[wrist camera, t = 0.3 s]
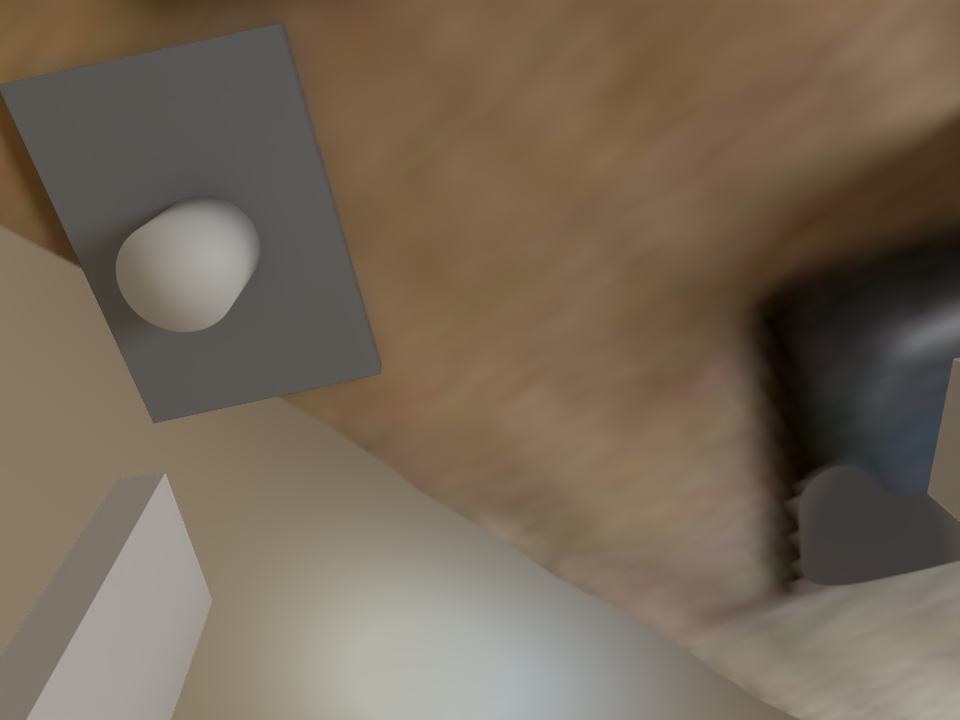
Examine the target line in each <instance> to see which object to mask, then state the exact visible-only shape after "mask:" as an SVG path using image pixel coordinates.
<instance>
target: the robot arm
mask: <svg viewBox="0 0 960 720" xmlns="http://www.w3.org/2000/svg"><path fill="white" fill-rule="evenodd" d="M927 493H928V494H929V495H930V496H931V497H932V498H933V499H934V500H935V501H937V502H938V503H939V504H940V505H941V506H942V507H943V508H944V509H946V510H947V511H948V512H949V513H950V514H951V515H952V516H954V517H955V518H956V519H957V520H958V521H959V522H960V358H955V359H953V365H952V370H951V375H950V380H949V385H948V390H947V395H946V400H945V405H944V410H943V416H942V421H941V426H940V431H939V436H938V441H937V446H936V451H935V456H934V462H933V467H932V472H931V477H930V482H929V487H928V492H927ZM211 603H212V599H211V597H210V594H209V591H208V588H207V585H206V583H205V580H204V577H203V575H202V572H201V569H200V567H199V564H198V561H197V558H196V556H195V553H194V550H193V548H192V545H191V542H190V539H189V536H188V534H187V531H186V529H185V526H184V523H183V520H182V517H181V515H180V512H179V509H178V507H177V504H176V501H175V498H174V496H173V493H172V490H171V487H170V485H169V482H168V479H167V476H166V474H165V473H160V474H153V475H146V476H139V477H132V478H125V479H118V480H117V481H116V482H115V484H114V485H113V487H112V488H111V490H110V491H109V493H108V494H107V496H106V497H105V499H104V500H103V502H102V503H101V505H100V507H99V508H98V510H97V511H96V512H95V514H94V516H93V517H92V519H91V520H90V522H89V523H88V525H87V526H86V528H85V529H84V531H83V532H82V534H81V535H80V537H79V538H78V540H77V541H76V543H75V544H74V546H73V547H72V549H71V551H70V552H69V553H68V555H67V556H66V558H65V559H64V561H63V562H62V564H61V566H60V567H59V569H58V570H57V571H56V573H55V575H54V576H53V578H52V579H51V581H50V582H49V584H48V585H47V587H46V588H45V590H44V591H43V593H42V594H41V596H40V597H39V599H38V600H37V602H36V603H35V605H34V606H33V608H32V609H31V611H30V612H29V614H28V615H27V617H26V619H25V620H24V622H23V623H22V625H21V626H20V627H19V629H18V631H17V632H16V634H15V635H14V637H13V638H12V640H11V641H10V643H9V644H8V646H7V647H6V649H5V650H4V652H3V653H2V655H1V656H0V720H171V717H172V715H173V712H174V709H175V706H176V703H177V700H178V697H179V695H180V692H181V689H182V686H183V683H184V680H185V677H186V675H187V672H188V669H189V666H190V663H191V661H192V658H193V655H194V652H195V649H196V646H197V643H198V641H199V638H200V635H201V632H202V629H203V626H204V623H205V621H206V617H207V615H208V612H209V609H210V606H211Z"/></svg>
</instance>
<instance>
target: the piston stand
mask: <svg viewBox="0 0 960 720" xmlns="http://www.w3.org/2000/svg"><path fill="white" fill-rule="evenodd" d="M0 92H1V94H2V96H3V98H4V100H5V102H6V105H7V107H8V109H9V111H10V113H11V115H12V118H13V120H14V122H15V124H16V126H17V128H18V131H19V133H20V135H21V137H22V139H23V141H24V144H25V146H26V148H27V150H28V152H29V154H30V157H31V159H32V161H33V163H34V165H35V167H36V170H37V172H38V174H39V176H40V178H41V180H42V183H43V185H44V187H45V189H46V191H47V193H48V196H49V198H50V200H51V202H52V204H53V206H54V208H55V211H56V213H57V215H58V217H59V219H60V221H61V224H62V226H63V228H64V230H65V232H66V234H67V237H68V239H69V241H70V243H71V245H72V247H73V250H74V252H75V254H76V256H77V258H78V260H79V263H80V265H81V267H82V269H83V271H84V273H85V276H86V278H87V280H88V282H89V284H90V286H91V289H92V291H93V293H94V295H95V297H96V299H97V301H98V304H99V306H100V308H101V310H102V312H103V314H104V317H105V319H106V321H107V323H108V325H109V327H110V329H111V332H112V334H113V336H114V338H115V340H116V343H117V345H118V347H119V349H120V351H121V353H122V356H123V358H124V359H125V362H126V364H127V366H128V368H129V371H130V373H131V375H132V377H133V379H134V381H135V384H136V386H137V388H138V390H139V392H140V394H141V397H142V399H143V401H144V403H145V405H146V407H147V410H148V412H149V414H150V416H151V418H152V420H153V423H157V422H162V421H166V420H171V419H175V418H180V417H185V416H189V415H194V414H199V413H203V412H208V411H212V410H217V409H222V408H226V407H231V406H235V405H240V404H245V403H249V402H254V401H258V400H262V399H268V398H272V397H277V396H281V395H286V394H291V393H295V392H300V391H304V390H309V389H313V388H318V387H323V386H327V385H332V384H336V383H341V382H346V381H350V380H355V379H359V378H364V377H368V376H373V375H378V374H381V367H382V366H381V363H380V359H379V356H378V352H377V349H376V345H375V342H374V338H373V335H372V331H371V328H370V324H369V321H368V317H367V314H366V311H365V307H364V304H363V300H362V297H361V293H360V290H359V286H358V283H357V279H356V276H355V272H354V269H353V265H352V262H351V258H350V255H349V251H348V248H347V244H346V241H345V237H344V234H343V231H342V227H341V224H340V220H339V217H338V213H337V210H336V206H335V203H334V199H333V196H332V192H331V189H330V185H329V182H328V178H327V175H326V171H325V168H324V164H323V161H322V158H321V154H320V151H319V147H318V144H317V140H316V137H315V133H314V130H313V126H312V123H311V119H310V116H309V112H308V109H307V105H306V102H305V98H304V95H303V91H302V88H301V85H300V81H299V78H298V74H297V71H296V67H295V64H294V60H293V57H292V53H291V50H290V46H289V43H288V39H287V36H286V32H285V29H284V25H283V24H281V23H278V24H274V25H269V26H265V27H260V28H256V29H251V30H247V31H242V32H237V33H233V34H228V35H224V36H219V37H215V38H210V39H205V40H201V41H196V42H192V43H187V44H183V45H178V46H174V47H169V48H164V49H160V50H155V51H151V52H146V53H142V54H137V55H132V56H128V57H123V58H119V59H114V60H110V61H105V62H100V63H96V64H91V65H87V66H82V67H78V68H73V69H69V70H64V71H59V72H55V73H50V74H46V75H41V76H37V77H32V78H27V79H23V80H18V81H14V82H9V83H5V84H0Z"/></svg>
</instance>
